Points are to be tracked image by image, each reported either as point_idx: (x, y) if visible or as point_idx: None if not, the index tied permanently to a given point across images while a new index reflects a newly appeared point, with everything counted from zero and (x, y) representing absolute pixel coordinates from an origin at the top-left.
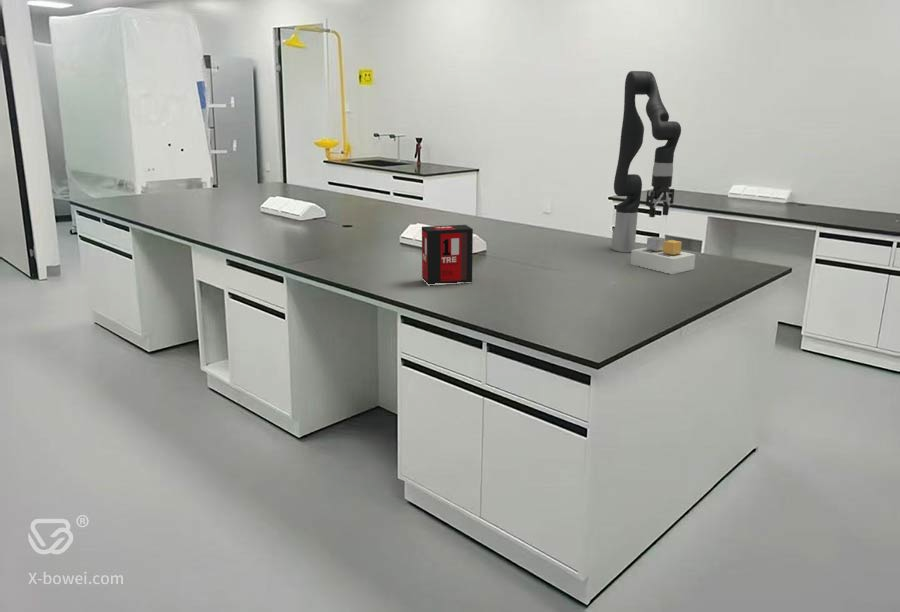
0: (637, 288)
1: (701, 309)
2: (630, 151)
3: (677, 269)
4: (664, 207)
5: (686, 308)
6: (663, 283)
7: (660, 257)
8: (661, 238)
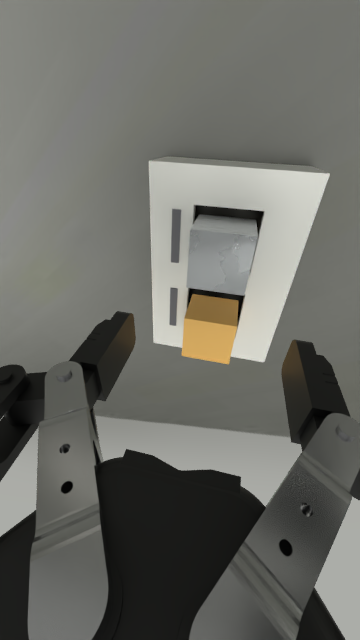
0: (19, 320)
1: None
2: None
3: None
4: (301, 403)
5: None
6: None
7: (153, 304)
8: (234, 284)
